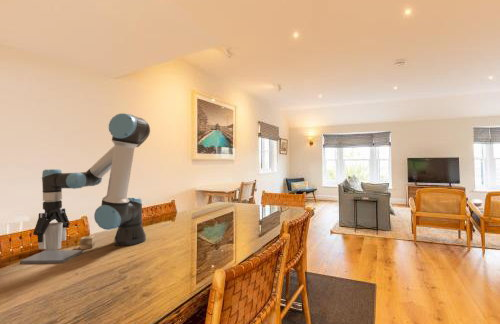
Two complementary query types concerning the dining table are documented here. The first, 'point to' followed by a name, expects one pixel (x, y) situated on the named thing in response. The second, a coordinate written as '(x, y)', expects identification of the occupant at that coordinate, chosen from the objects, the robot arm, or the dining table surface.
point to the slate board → (52, 256)
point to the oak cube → (87, 242)
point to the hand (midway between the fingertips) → (53, 244)
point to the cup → (53, 236)
